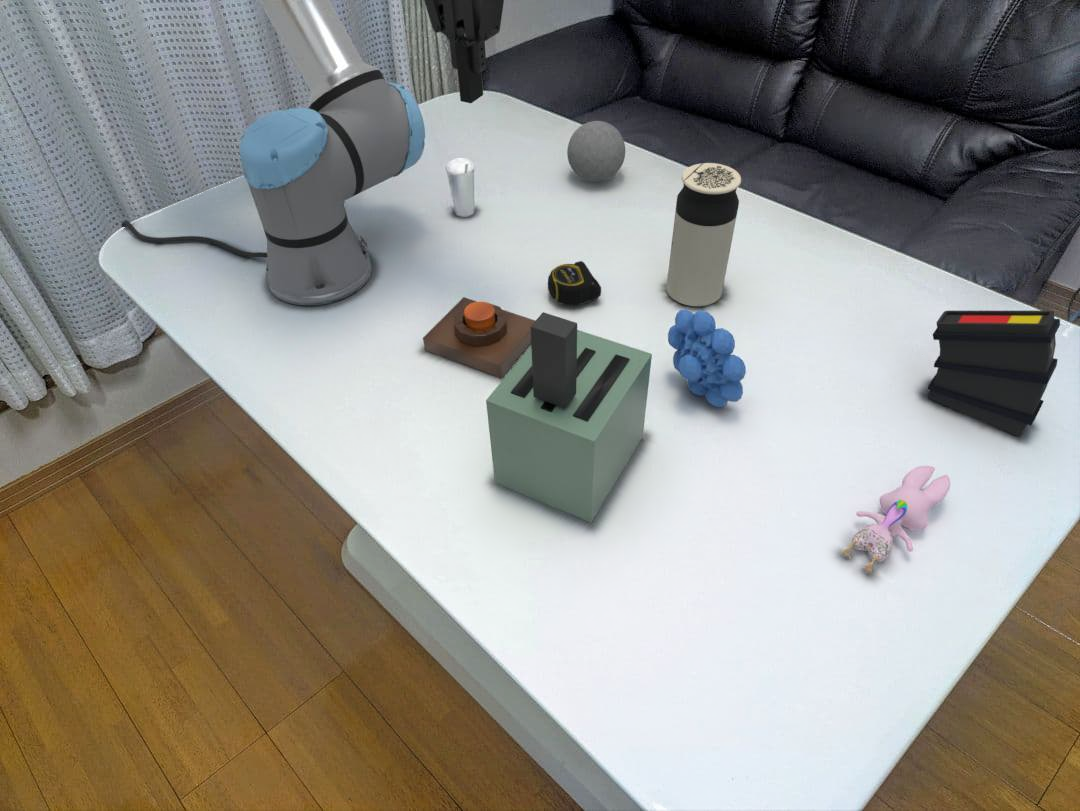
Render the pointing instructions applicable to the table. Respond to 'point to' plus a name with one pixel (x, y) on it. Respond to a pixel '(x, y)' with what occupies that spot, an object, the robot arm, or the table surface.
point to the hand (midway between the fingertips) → (472, 97)
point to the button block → (480, 339)
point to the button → (479, 315)
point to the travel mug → (702, 233)
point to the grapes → (706, 357)
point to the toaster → (571, 427)
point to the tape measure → (573, 284)
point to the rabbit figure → (900, 514)
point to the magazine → (995, 365)
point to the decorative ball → (596, 151)
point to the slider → (554, 359)
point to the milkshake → (462, 185)
